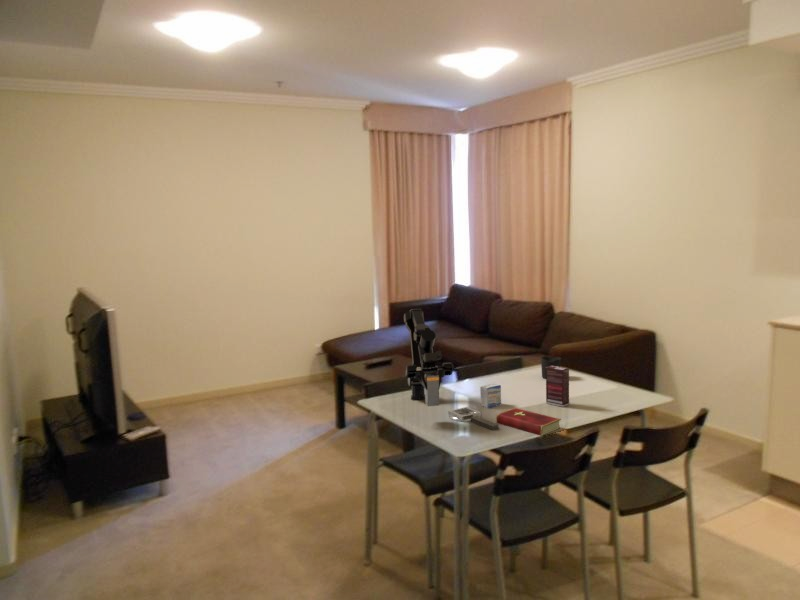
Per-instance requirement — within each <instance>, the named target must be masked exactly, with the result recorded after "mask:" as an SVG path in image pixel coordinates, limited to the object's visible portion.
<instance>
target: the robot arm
mask: <svg viewBox="0 0 800 600" xmlns="http://www.w3.org/2000/svg"><path fill="white" fill-rule="evenodd" d="M403 323H405V328H407V330H408V332H409V338H410V349H411V361H412V364H409V365H406V367H405V378H406V379H407V385H408V386H409V387H411V394H410V400H425V389H426V390H427V384H426V381H425V373H437V374H438V375H439V389H440V388H441V383H442V382H441V380H442V378H444V377H445V376H452V375H453V372H454V364H453V363H452V362H443V363H442V365H441V366H437V365H438V360H442V351H441V350H436V351H435V352H434V349H433V347H434V345H435V342H436V341H435V340H436V333H435V331H434V330H432V329H431V327H430V326H429V325H427V324H426V323H425V317H424V311H423V310H422V308H411V309H410V310H408V311H406V312H404V314H403Z"/></svg>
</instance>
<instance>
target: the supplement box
mask: <svg viewBox="0 0 800 600" xmlns="http://www.w3.org/2000/svg"><path fill="white" fill-rule="evenodd" d="M545 390H546V391H545V399H546V401H545V403H546V404H547V405H551V406H552V405H553V406H556V407H557V406H558V407H561V408H562V407H563V408H565V407H567V406H569V405H570V368H569V367H563V366H561V367H558V366H548V367H546V379H545Z"/></svg>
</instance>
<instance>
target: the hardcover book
mask: <svg viewBox="0 0 800 600" xmlns="http://www.w3.org/2000/svg"><path fill="white" fill-rule="evenodd" d="M495 416H496V417H495V420H496V421H495V422H496V424H498V425H502V426H506V427H509V428H513V429H517V430H520V431H523V432H526V433H530V434H534V435H537V436H540V437H543V435H546V434H549V433H551V432H554V431H555V430H558V429H560V421H562V419H561V418H558V417H554V416H550V415H546V414H542V413H538V412H534V411H531V410H525V409H522V408H518V407H514V408H511V409H508V410H504V411H502V412H500V413H497V414H496V415H495Z"/></svg>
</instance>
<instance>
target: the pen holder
mask: <svg viewBox="0 0 800 600" xmlns="http://www.w3.org/2000/svg"><path fill="white" fill-rule="evenodd" d="M540 359H541V360H540V361H541V362H540V363H541V378H542V379H544V380H546V367H548V366H558V367H562V366H561V365H562V364H561V362H562V357H559V356H555V357H550V356H546V355H545V356H542V357H540Z"/></svg>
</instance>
